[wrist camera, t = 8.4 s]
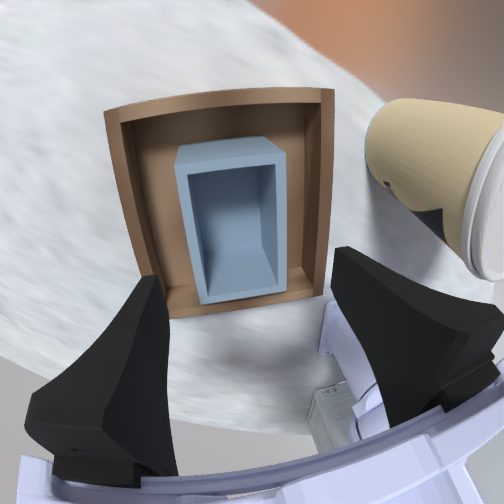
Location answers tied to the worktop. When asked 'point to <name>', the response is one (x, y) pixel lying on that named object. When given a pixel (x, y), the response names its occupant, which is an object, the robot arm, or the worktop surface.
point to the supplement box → (331, 416)
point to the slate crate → (234, 216)
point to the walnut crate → (212, 128)
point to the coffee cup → (446, 174)
